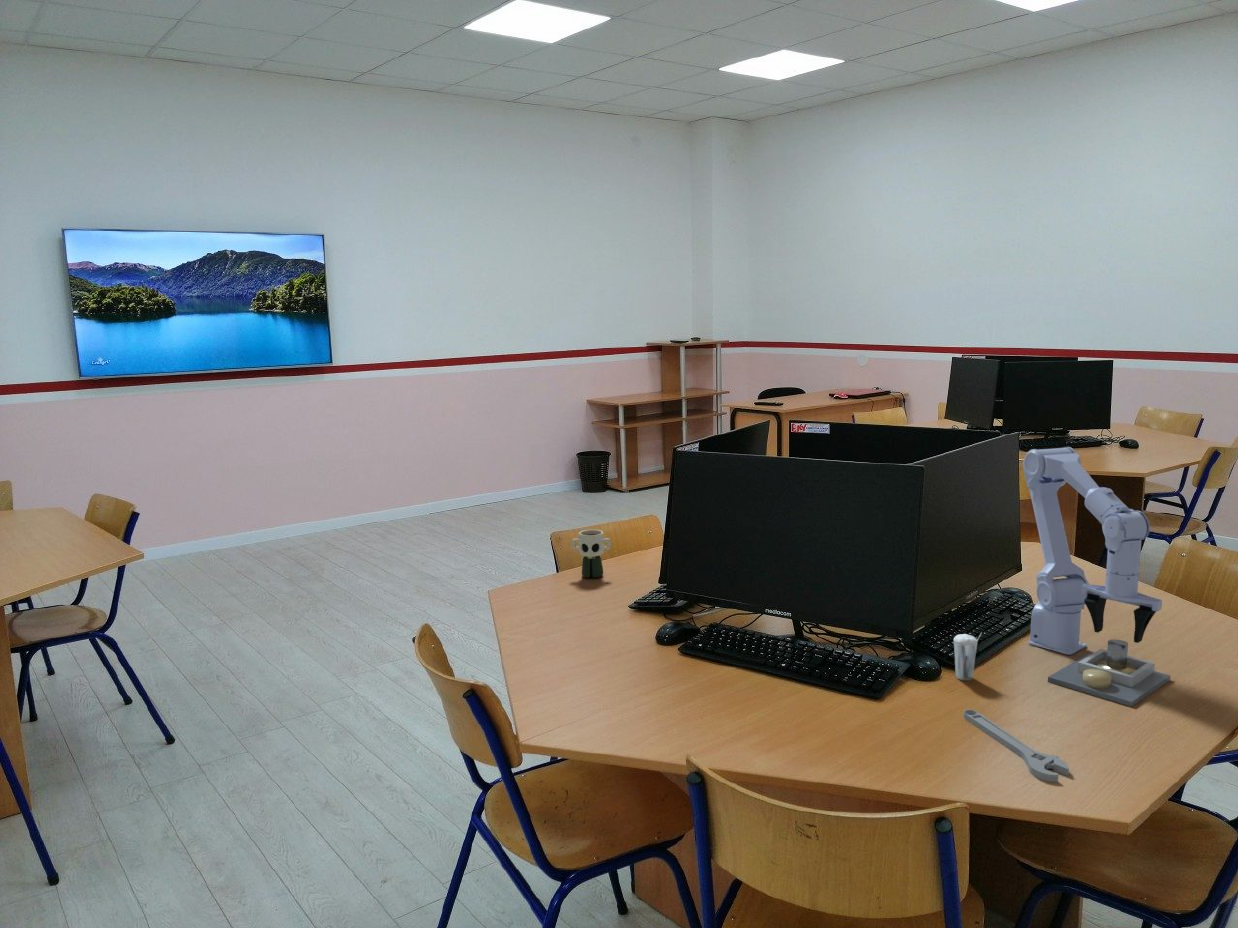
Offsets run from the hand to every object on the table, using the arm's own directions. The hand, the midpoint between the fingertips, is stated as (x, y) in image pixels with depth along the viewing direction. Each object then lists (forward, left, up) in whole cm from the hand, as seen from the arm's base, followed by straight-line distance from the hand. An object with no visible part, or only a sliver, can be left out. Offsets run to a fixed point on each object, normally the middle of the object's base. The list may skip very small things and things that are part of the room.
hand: (1117, 636), depth 187 cm
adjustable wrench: (+1, -42, -9) cm, 43 cm away
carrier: (0, -3, -9) cm, 9 cm away
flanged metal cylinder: (0, 0, -8) cm, 8 cm away
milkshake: (-20, -22, -9) cm, 31 cm away
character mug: (-130, -34, -9) cm, 135 cm away
